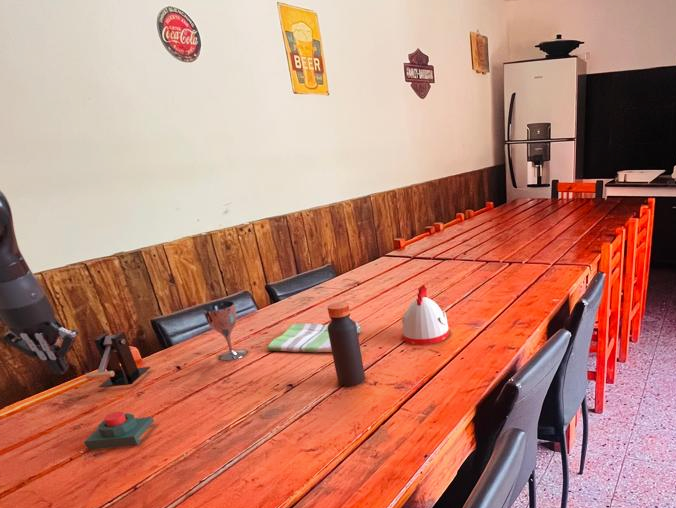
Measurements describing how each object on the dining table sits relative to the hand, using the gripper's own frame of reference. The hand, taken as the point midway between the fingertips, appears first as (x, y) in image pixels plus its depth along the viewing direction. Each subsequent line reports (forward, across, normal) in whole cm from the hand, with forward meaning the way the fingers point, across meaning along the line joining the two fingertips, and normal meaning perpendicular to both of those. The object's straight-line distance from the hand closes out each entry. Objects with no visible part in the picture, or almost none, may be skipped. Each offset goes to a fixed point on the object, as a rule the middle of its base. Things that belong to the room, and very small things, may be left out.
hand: (61, 371), depth 103 cm
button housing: (+16, -8, +3) cm, 18 cm away
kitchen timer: (+19, -73, -41) cm, 86 cm away
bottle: (+16, -54, -15) cm, 58 cm away
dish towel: (+23, -40, -43) cm, 63 cm away
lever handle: (+15, +7, -24) cm, 29 cm away
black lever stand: (+23, +7, -25) cm, 35 cm away
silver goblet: (+24, -17, -37) cm, 47 cm away
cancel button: (+12, -7, +3) cm, 14 cm away
